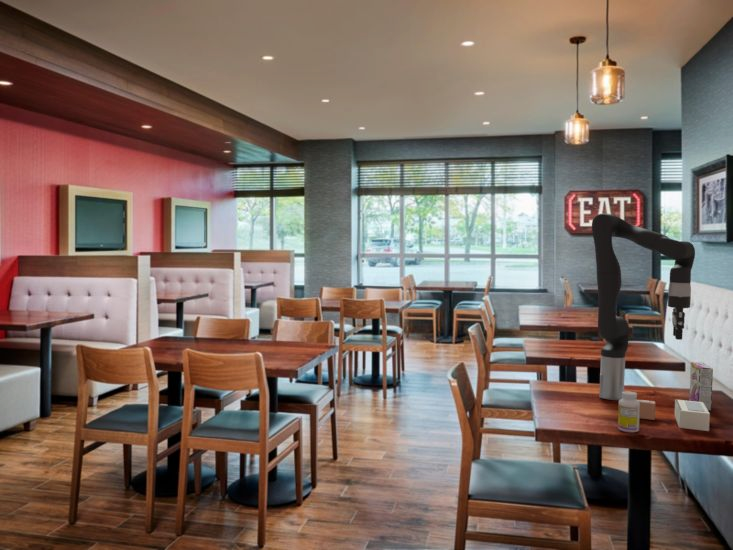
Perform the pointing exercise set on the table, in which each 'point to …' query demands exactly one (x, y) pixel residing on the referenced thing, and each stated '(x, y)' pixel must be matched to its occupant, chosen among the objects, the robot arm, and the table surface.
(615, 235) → the robot arm
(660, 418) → the table surface
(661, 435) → the table surface
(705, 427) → the block
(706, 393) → the candy bar box
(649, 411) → the tan cardboard box
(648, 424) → the table surface
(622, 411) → the supplement bottle
